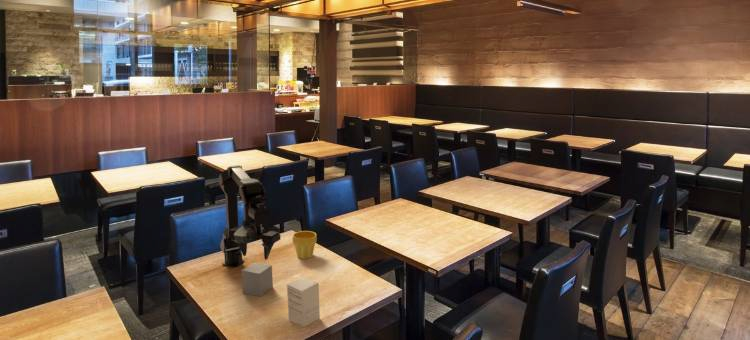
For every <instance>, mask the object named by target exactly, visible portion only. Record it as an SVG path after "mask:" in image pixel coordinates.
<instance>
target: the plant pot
mask: <svg viewBox="0 0 750 340" xmlns="http://www.w3.org/2000/svg"><path fill="white" fill-rule="evenodd" d="M317 236H318V235H317V233H316V232H314V231H310V230H302V231H301V230H299V231H297V232H294V233H293V234H292V244H294V248H295V252H296V256H297V259H301V260H306V259H307V258H308V259H310V258H312V257H313V255H314V251H315V245H316V243H317V242H318V241H317V240H318V239H317V238H318V237H317Z"/></svg>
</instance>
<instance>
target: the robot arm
mask: <svg viewBox="0 0 750 340" xmlns="http://www.w3.org/2000/svg"><path fill="white" fill-rule="evenodd" d="M218 184H219V187H220V189H222V191H223V192H224V194H225V195H224V197H225V214H226V215H225V217H226V227H225V229H224V231H223V233H222V238H221V241H220V244H219V246H220V250H221V252H222V253H223V254H224V262H223V263H222V265H223V266H228V267H233V268H236V267H237V266H239V265H240V264H242V263H244V262H245V259H243V257H246V256H247V252H248V249H247V248H248V243H249V242H250V241H251V240H252V241H253V240H254V239H260V240H261V242H262V243H261V246H262V247H263V256H264V257H263V258H264V261H267V260H268V258H269V256H270V253H271V251H272V249H273V247H274V244H275V243H277V242H279V241H280V240H281V234H280V232H278V231H273V230H269V231H268V232H266V233H263V232H265V228H264V227H263V225H264V224H266V223H268V222H269V221H270V219H271V216H272V215H271V211H270V210H269V208H267V207H266V206H265V203H266V202H268V200H267V199H268V198H267V197H268V195H267V192H266V190H265V187H264V185H263V183H262V182H261V181H259V179H257V178H251V177H250V176H249V175H248V174H247V172H246V171H245V170H244V168H243V166H242V165H231V166H227V168H226V170H223V171H222V172H221V173H220V174H219V176H218ZM238 194H239V195H240V198H241V201H242V203H243V213H244V215H243V216H244V219H243V220H242V222H241V226H239V205H238Z"/></svg>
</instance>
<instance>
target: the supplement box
mask: <svg viewBox="0 0 750 340" xmlns="http://www.w3.org/2000/svg"><path fill="white" fill-rule="evenodd" d="M319 290H320V289H319V282H317V281H315V280H312V279H310V278H307V277H305V276H303V277H301V278H298V279H296V280H294V281H292V282H290V283H287V284H286V291H287V292H286V293H287V294H286V295H287V308H288V309H287V311H288V314H287V315H288V320H289V321H291V322H292V323H293V324H296V325H299V326H300V327H302V328H305V327H307V326H308V325H310V324H312V323H313V322H316V321H317V320H318V319H321V316H320V314H321V313H320V293H319V292H320V291H319Z"/></svg>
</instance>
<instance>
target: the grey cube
mask: <svg viewBox="0 0 750 340" xmlns="http://www.w3.org/2000/svg"><path fill="white" fill-rule="evenodd" d="M240 271H241V285H242V287H241V288H242V293H243V294H247V295H251V296H256V297H262V296H263V295H265V294H266V293H267V292H269V291H270V290H272V289H273V288H274V283H273V281H274V280H273V265H270V264H267V263H266V264H265V263H261V262H257V261H256V262H255V261H254V262H253V263H251V264H250V265H248V266H246V267H244V268H243V269H241V270H240Z"/></svg>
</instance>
